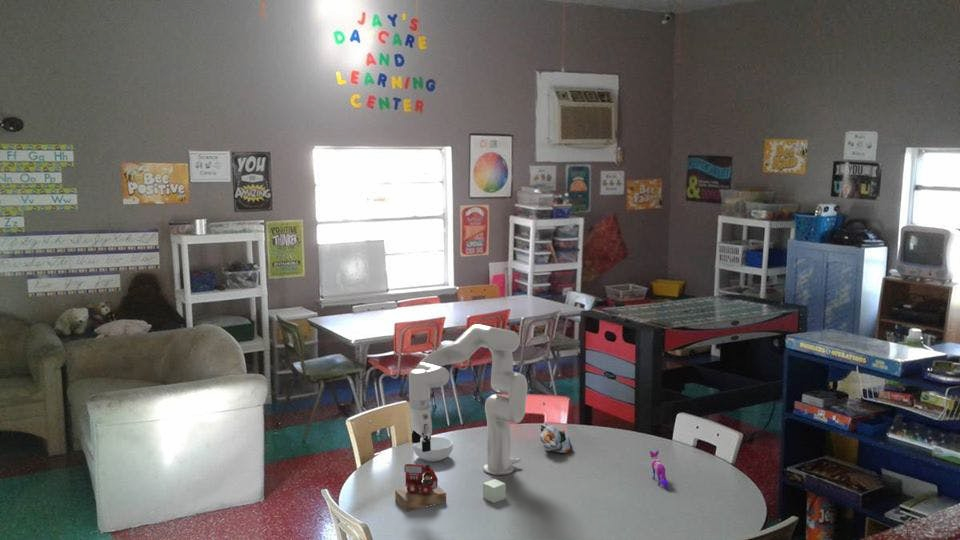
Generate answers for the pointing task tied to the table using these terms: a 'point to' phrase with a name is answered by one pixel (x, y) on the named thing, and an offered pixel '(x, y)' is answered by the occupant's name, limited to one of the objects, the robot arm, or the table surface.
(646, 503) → the table surface
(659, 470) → the toy dog
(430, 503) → the tan block
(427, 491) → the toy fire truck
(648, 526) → the table surface
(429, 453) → the cereal bowl
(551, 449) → the lucky cat figurine
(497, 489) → the sage cube
